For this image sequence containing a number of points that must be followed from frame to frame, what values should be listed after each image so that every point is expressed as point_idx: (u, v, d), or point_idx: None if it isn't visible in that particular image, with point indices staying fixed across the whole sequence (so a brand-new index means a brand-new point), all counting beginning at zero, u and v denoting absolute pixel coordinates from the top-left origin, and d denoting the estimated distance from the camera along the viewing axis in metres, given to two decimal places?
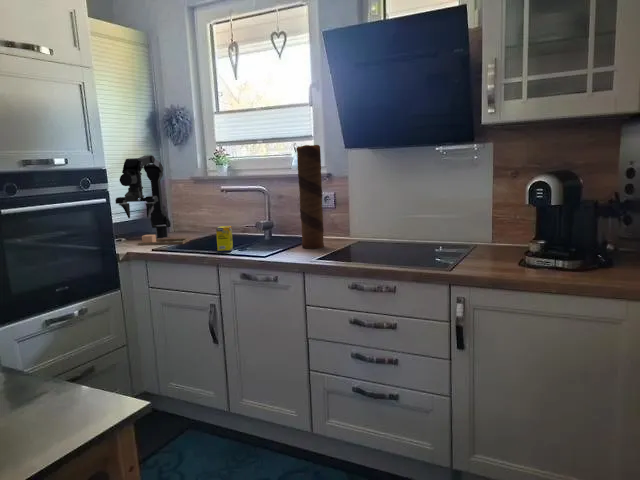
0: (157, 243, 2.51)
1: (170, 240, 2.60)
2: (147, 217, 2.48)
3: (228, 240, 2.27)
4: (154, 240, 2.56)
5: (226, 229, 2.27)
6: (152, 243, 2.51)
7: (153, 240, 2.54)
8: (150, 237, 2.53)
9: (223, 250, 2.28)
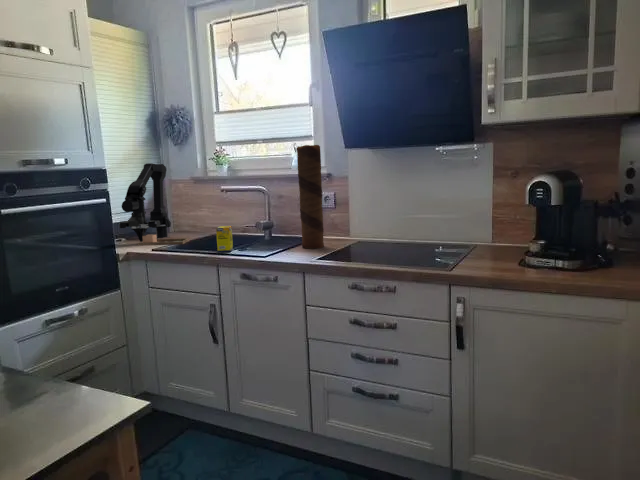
0: (157, 243, 2.51)
1: (170, 240, 2.60)
2: (141, 241, 2.56)
3: (228, 240, 2.27)
4: (154, 240, 2.56)
5: (226, 229, 2.27)
6: (152, 243, 2.51)
7: (153, 240, 2.54)
8: (151, 237, 2.53)
9: (223, 250, 2.28)
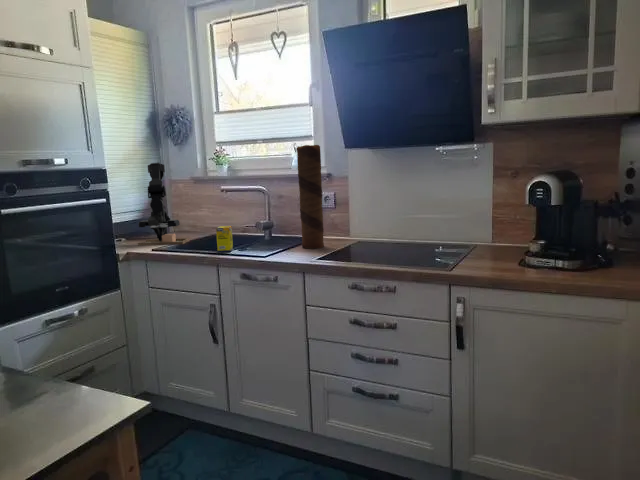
0: (157, 243, 2.51)
1: None
2: (160, 240, 2.55)
3: (228, 240, 2.27)
4: (173, 240, 2.55)
5: (226, 229, 2.27)
6: (152, 243, 2.51)
7: (173, 239, 2.54)
8: (170, 236, 2.53)
9: (223, 250, 2.28)
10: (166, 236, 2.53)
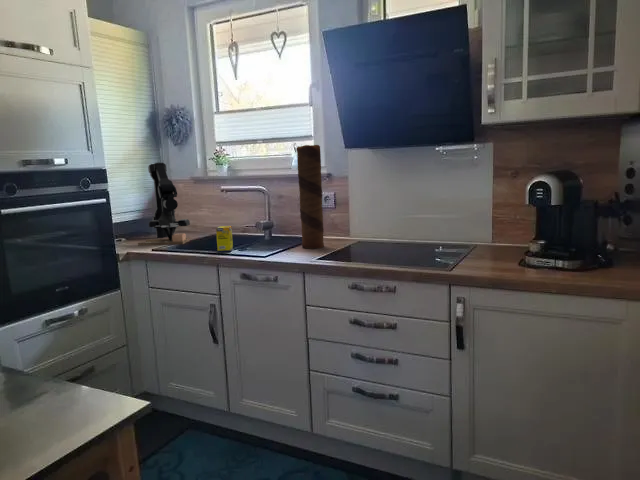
0: (157, 243, 2.51)
1: None
2: (170, 240, 2.55)
3: (228, 240, 2.27)
4: (184, 239, 2.55)
5: (226, 229, 2.27)
6: (152, 243, 2.51)
7: (183, 239, 2.54)
8: (180, 236, 2.52)
9: (223, 250, 2.28)
10: (176, 236, 2.53)
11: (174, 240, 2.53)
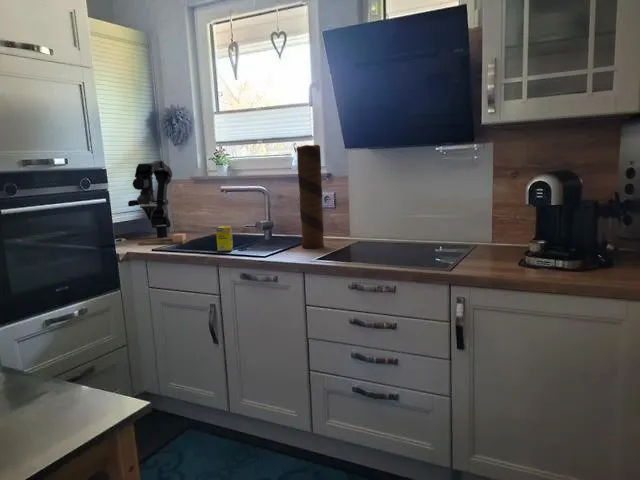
0: (157, 243, 2.51)
1: (170, 240, 2.60)
2: (149, 219, 2.61)
3: (228, 240, 2.27)
4: (184, 239, 2.55)
5: (226, 229, 2.27)
6: (152, 243, 2.51)
7: (183, 239, 2.54)
8: (180, 236, 2.52)
9: (223, 250, 2.28)
10: (176, 236, 2.53)
11: (174, 240, 2.53)
